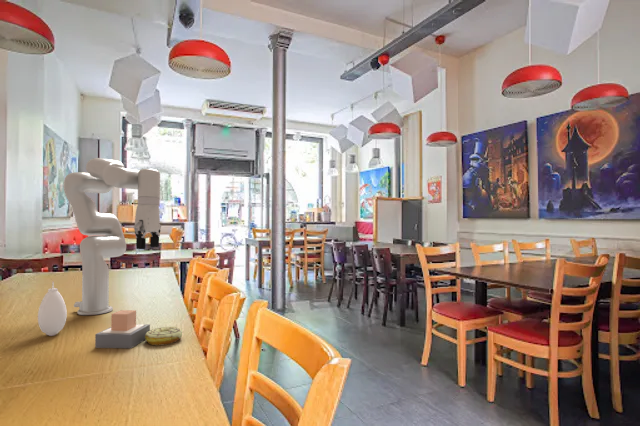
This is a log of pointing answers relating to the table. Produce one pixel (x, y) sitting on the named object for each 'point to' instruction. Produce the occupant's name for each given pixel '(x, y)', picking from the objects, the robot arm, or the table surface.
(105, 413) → the table surface
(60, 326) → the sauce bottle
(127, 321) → the terracotta cube
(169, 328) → the decorated donut
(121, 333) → the grey flat square block
